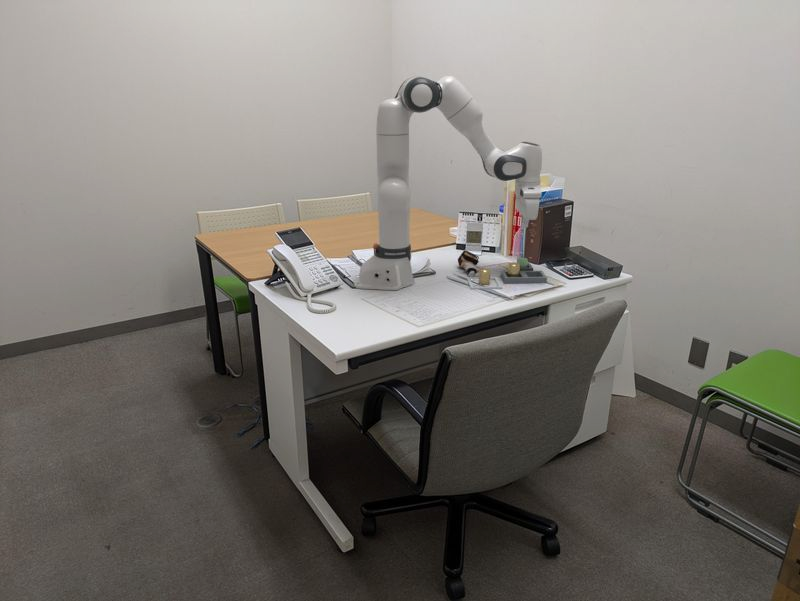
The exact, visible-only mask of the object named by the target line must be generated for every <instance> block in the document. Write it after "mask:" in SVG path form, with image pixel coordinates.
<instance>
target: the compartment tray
mask: <svg viewBox="0 0 800 601" xmlns="http://www.w3.org/2000/svg"><path fill="white" fill-rule="evenodd" d="M499 278H500V280H501V281H502V283H503V285H518V284H519V285H524V284H525V285H529V284H530V285H533V284H534V285H535V284H539V285H540V284H549V282H548V276H547V275H546V274H545V273H544V272H543V270H533V271H519V277H508V270H501V271H500V275H499Z"/></svg>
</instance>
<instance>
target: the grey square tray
mask: <svg viewBox="0 0 800 601" xmlns="http://www.w3.org/2000/svg"><path fill="white" fill-rule="evenodd" d="M471 279H479V277H471V278H470V277H466V280H467V283H468V285H469V289H470V290H503V286H502V283H501V282H500V280H499V278H498V277H497V276H490V281H493V280H494V282H495V284H496V285H497V286H490V285H488V286H474V284H473V282H472V280H471Z"/></svg>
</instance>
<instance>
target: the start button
mask: <svg viewBox="0 0 800 601" xmlns="http://www.w3.org/2000/svg"><path fill="white" fill-rule="evenodd" d="M516 263H519V264H520V268H527V263H529V260H528V258H526V257H517V259H516Z"/></svg>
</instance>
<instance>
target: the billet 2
mask: <svg viewBox="0 0 800 601" xmlns="http://www.w3.org/2000/svg"><path fill="white" fill-rule="evenodd" d="M519 269H520V264H519V263H517V262H514V261H513V262H512V261H511V262H508V267H507V271H508V277H519Z"/></svg>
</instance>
